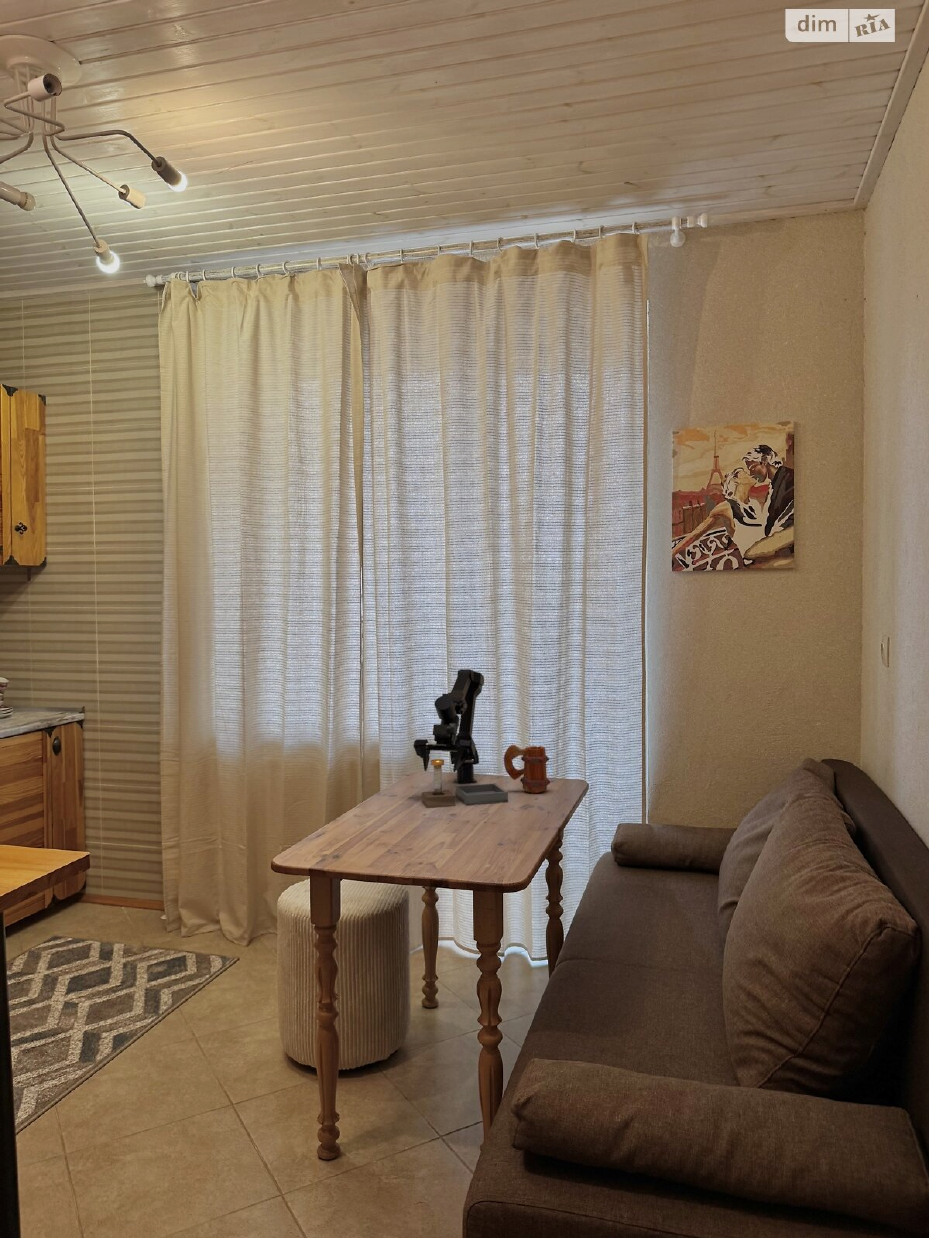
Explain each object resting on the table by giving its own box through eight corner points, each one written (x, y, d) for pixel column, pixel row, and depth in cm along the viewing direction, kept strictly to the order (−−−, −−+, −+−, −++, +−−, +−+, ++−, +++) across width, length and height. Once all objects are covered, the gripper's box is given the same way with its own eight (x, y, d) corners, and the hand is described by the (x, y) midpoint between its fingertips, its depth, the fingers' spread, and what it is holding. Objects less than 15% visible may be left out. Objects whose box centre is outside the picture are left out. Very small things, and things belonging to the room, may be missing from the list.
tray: (455, 795, 287) (455, 786, 287) (495, 792, 290) (495, 783, 290) (466, 805, 274) (466, 795, 273) (507, 802, 277) (507, 792, 277)
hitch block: (422, 801, 280) (422, 791, 280) (448, 799, 282) (448, 789, 282) (427, 807, 272) (427, 797, 272) (455, 805, 274) (454, 795, 273)
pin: (430, 802, 278) (429, 759, 278) (443, 801, 279) (442, 758, 279) (433, 805, 274) (432, 761, 274) (446, 804, 275) (445, 761, 275)
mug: (550, 788, 294) (549, 742, 294) (550, 794, 286) (549, 746, 285) (505, 788, 295) (504, 742, 295) (503, 794, 287) (502, 747, 287)
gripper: (414, 713, 285) (404, 754, 275) (472, 714, 281) (464, 755, 270) (422, 735, 293) (412, 775, 283) (478, 735, 289) (471, 777, 278)
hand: (439, 770), depth 278 cm, fingers open, 9 cm apart
